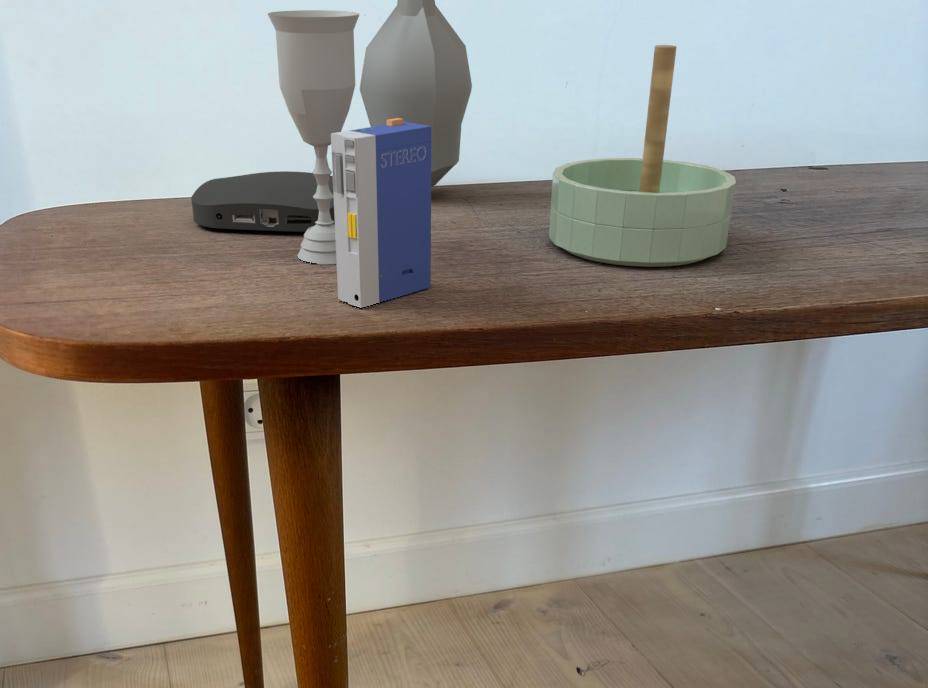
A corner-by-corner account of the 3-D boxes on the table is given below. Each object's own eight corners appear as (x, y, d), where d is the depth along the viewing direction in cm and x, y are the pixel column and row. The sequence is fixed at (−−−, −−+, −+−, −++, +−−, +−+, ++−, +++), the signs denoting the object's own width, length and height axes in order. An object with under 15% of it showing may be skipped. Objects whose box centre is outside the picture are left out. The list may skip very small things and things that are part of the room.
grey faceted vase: (467, 184, 116) (474, -158, 99) (473, 208, 106) (482, -166, 89) (365, 184, 115) (354, -160, 98) (361, 207, 106) (349, -168, 89)
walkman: (405, 280, 85) (404, 116, 78) (431, 287, 83) (432, 120, 76) (334, 301, 80) (326, 128, 73) (360, 309, 78) (354, 133, 72)
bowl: (744, 238, 97) (755, 169, 94) (694, 280, 86) (706, 202, 83) (586, 218, 103) (592, 152, 100) (521, 254, 92) (524, 180, 88)
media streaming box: (365, 202, 108) (364, 170, 106) (339, 237, 96) (338, 202, 94) (226, 197, 109) (223, 166, 107) (183, 231, 97) (178, 197, 95)
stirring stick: (674, 231, 97) (699, 45, 88) (659, 241, 94) (683, 49, 85) (629, 225, 99) (649, 42, 90) (613, 235, 95) (631, 46, 87)
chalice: (324, 241, 95) (312, 8, 84) (384, 254, 91) (378, 13, 81) (267, 259, 90) (247, 13, 79) (328, 272, 86) (315, 18, 76)
